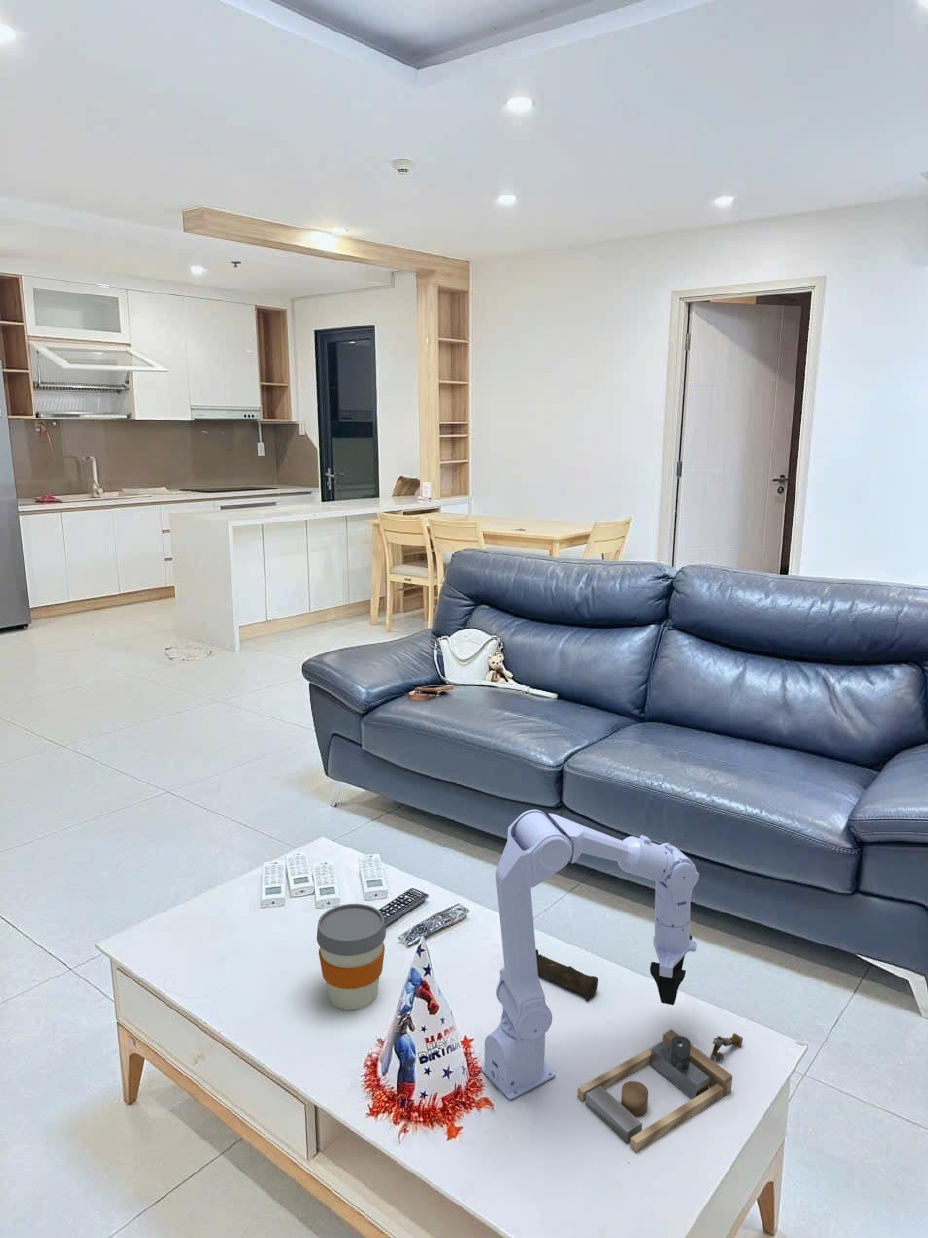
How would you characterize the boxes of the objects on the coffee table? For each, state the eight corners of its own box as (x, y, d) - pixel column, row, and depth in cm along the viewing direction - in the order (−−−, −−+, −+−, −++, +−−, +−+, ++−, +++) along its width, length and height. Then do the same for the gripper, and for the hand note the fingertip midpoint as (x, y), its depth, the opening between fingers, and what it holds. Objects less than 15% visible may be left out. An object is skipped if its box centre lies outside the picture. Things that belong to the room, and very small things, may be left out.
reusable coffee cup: (399, 983, 163) (398, 912, 160) (364, 1024, 152) (362, 948, 149) (342, 966, 168) (340, 896, 165) (305, 1004, 157) (302, 931, 154)
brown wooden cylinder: (634, 1120, 131) (635, 1104, 131) (615, 1104, 135) (616, 1087, 134) (652, 1109, 133) (653, 1093, 133) (634, 1093, 137) (635, 1077, 136)
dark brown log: (599, 993, 161) (600, 971, 160) (588, 1004, 158) (589, 981, 157) (517, 954, 173) (517, 933, 172) (505, 963, 170) (505, 942, 169)
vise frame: (636, 1152, 126) (637, 1134, 125) (577, 1096, 136) (578, 1080, 135) (731, 1091, 137) (732, 1075, 136) (670, 1044, 147) (671, 1029, 147)
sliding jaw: (695, 1101, 135) (698, 1064, 133) (650, 1064, 142) (652, 1028, 141) (708, 1093, 136) (711, 1056, 135) (663, 1057, 144) (665, 1021, 143)
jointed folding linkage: (703, 1060, 143) (711, 1034, 143) (726, 1057, 148) (734, 1031, 148) (712, 1066, 141) (720, 1039, 142) (736, 1062, 147) (743, 1036, 147)
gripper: (692, 946, 136) (690, 1021, 139) (701, 898, 149) (699, 967, 152) (647, 938, 138) (645, 1011, 141) (660, 891, 151) (659, 959, 155)
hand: (670, 988), depth 147 cm, fingers open, 7 cm apart
